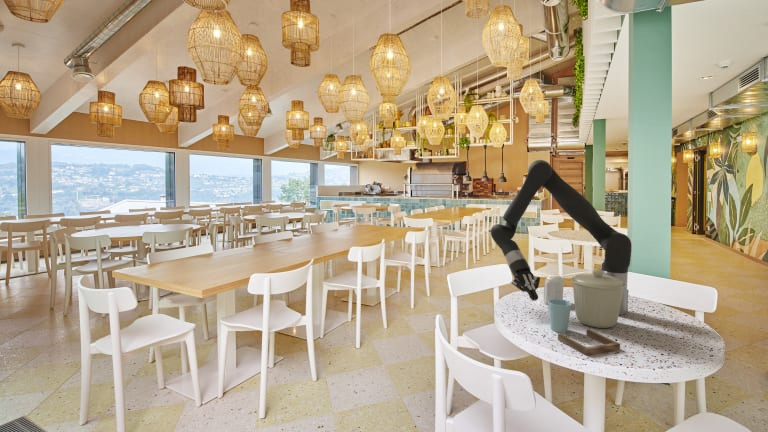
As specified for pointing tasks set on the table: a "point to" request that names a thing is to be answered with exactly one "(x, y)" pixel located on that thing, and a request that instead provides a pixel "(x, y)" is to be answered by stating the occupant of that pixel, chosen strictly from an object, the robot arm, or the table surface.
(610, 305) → the canister
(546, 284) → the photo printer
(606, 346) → the walnut bay
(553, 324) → the cup
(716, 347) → the table surface
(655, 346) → the table surface
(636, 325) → the table surface
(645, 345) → the table surface
